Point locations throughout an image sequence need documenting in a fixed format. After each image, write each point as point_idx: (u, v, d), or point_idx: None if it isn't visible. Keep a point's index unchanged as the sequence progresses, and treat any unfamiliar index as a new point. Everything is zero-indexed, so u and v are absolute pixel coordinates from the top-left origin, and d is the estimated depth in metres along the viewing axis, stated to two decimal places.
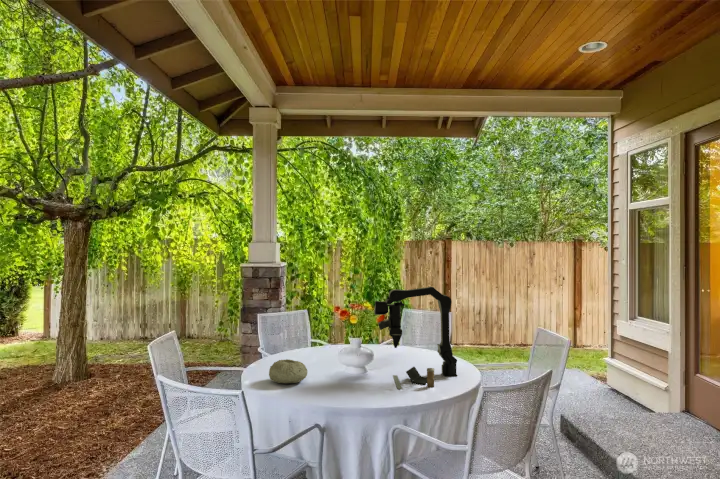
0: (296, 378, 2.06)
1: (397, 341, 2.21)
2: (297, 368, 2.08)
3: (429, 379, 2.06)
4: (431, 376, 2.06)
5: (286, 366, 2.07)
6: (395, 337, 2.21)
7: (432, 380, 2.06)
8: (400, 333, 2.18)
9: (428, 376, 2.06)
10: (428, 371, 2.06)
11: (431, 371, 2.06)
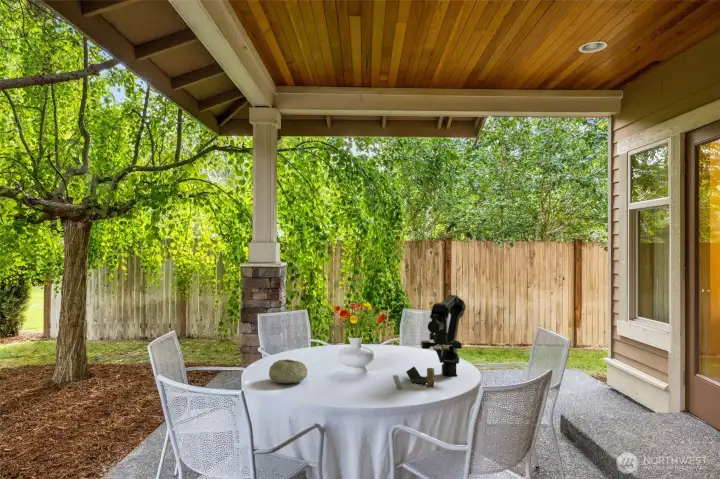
0: (296, 378, 2.06)
1: (438, 356, 2.16)
2: (297, 368, 2.08)
3: (429, 379, 2.06)
4: (431, 376, 2.06)
5: (286, 366, 2.07)
6: None
7: (432, 380, 2.06)
8: (422, 347, 2.14)
9: (428, 376, 2.06)
10: (428, 371, 2.06)
11: (431, 371, 2.06)
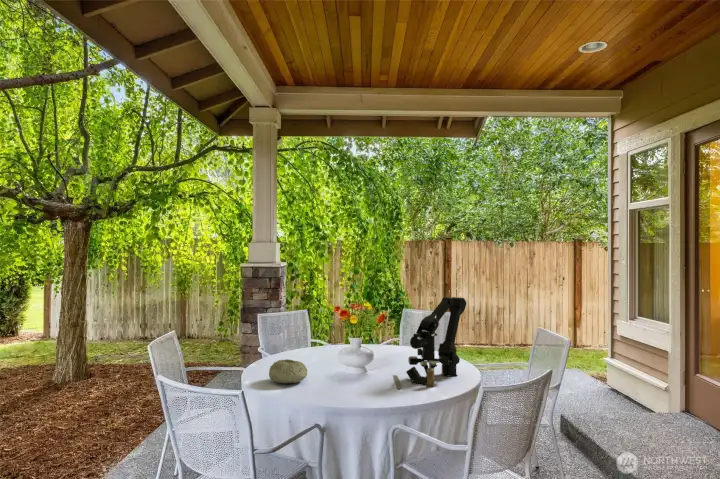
0: (296, 378, 2.06)
1: (426, 372, 2.15)
2: (297, 368, 2.08)
3: (429, 379, 2.06)
4: (431, 376, 2.06)
5: (286, 366, 2.07)
6: None
7: (432, 380, 2.06)
8: (409, 363, 2.14)
9: (428, 376, 2.06)
10: (428, 371, 2.06)
11: (431, 371, 2.06)
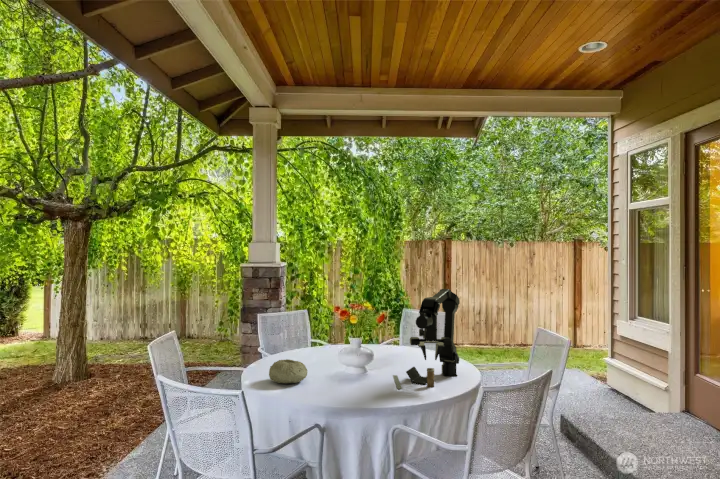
0: (296, 378, 2.06)
1: (423, 353, 2.06)
2: (297, 368, 2.08)
3: (429, 379, 2.06)
4: (431, 376, 2.06)
5: (286, 366, 2.07)
6: None
7: (432, 380, 2.06)
8: (411, 343, 2.05)
9: (428, 376, 2.06)
10: (428, 371, 2.06)
11: (431, 371, 2.06)
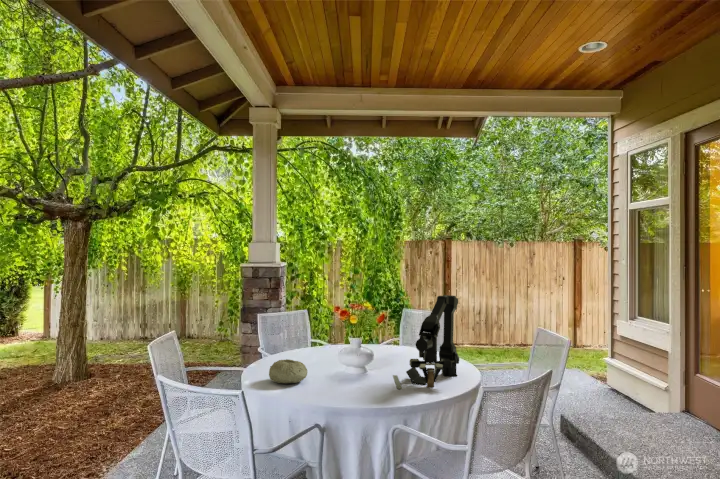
0: (296, 378, 2.06)
1: (424, 375, 2.06)
2: (297, 368, 2.08)
3: (429, 379, 2.06)
4: (431, 376, 2.06)
5: (286, 366, 2.07)
6: None
7: (432, 380, 2.06)
8: (411, 365, 2.05)
9: (428, 376, 2.06)
10: (428, 371, 2.06)
11: (431, 371, 2.06)
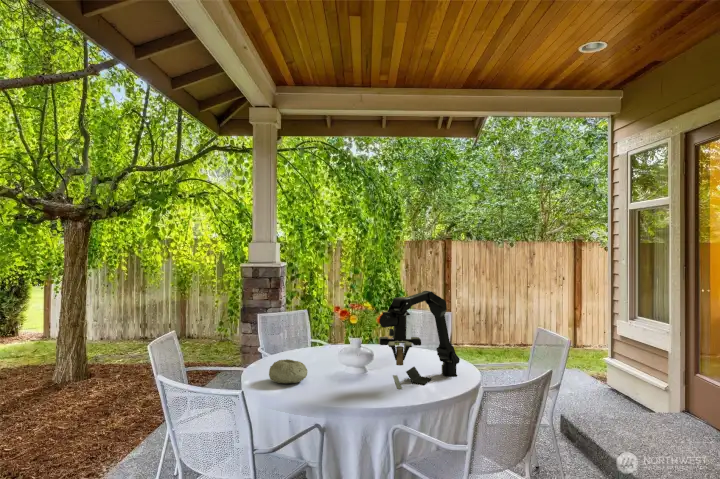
0: (296, 378, 2.06)
1: None
2: (297, 368, 2.08)
3: (398, 357, 2.04)
4: (400, 354, 2.04)
5: (286, 366, 2.07)
6: None
7: (401, 358, 2.04)
8: (379, 343, 2.04)
9: (397, 354, 2.05)
10: (397, 349, 2.05)
11: (400, 349, 2.04)
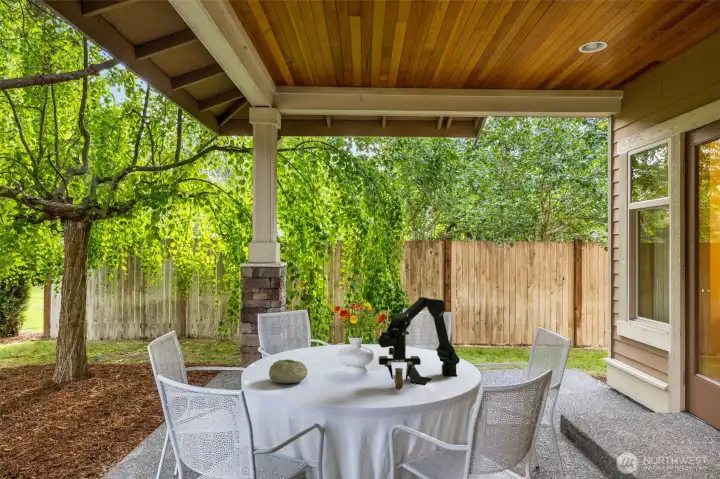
0: (296, 378, 2.06)
1: None
2: (297, 368, 2.08)
3: (397, 379, 2.04)
4: (399, 376, 2.04)
5: (286, 366, 2.07)
6: None
7: (400, 380, 2.04)
8: (379, 363, 2.04)
9: (396, 376, 2.05)
10: (396, 371, 2.05)
11: (399, 371, 2.04)
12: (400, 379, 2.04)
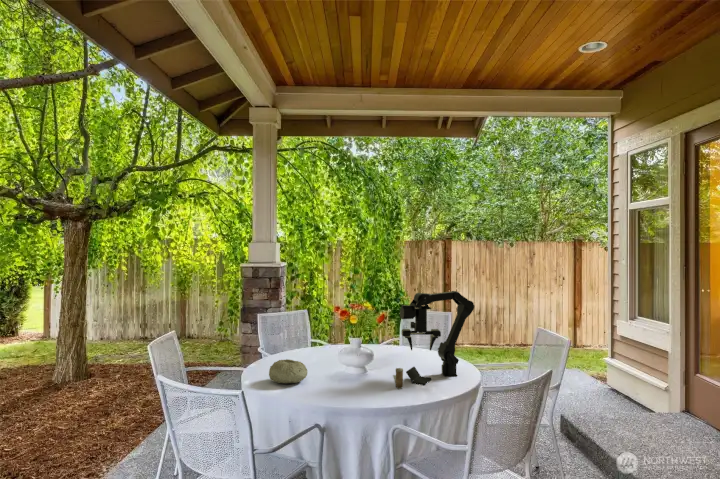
0: (296, 378, 2.06)
1: (409, 343, 2.22)
2: (297, 368, 2.08)
3: (398, 379, 2.04)
4: (400, 376, 2.04)
5: (286, 366, 2.07)
6: None
7: (401, 380, 2.04)
8: (402, 335, 2.21)
9: (397, 376, 2.05)
10: (397, 371, 2.05)
11: (400, 371, 2.04)
12: (400, 379, 2.04)
